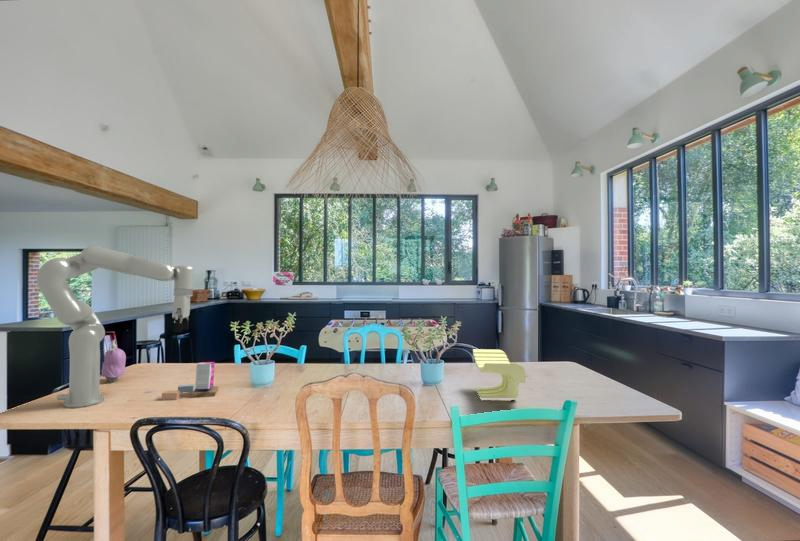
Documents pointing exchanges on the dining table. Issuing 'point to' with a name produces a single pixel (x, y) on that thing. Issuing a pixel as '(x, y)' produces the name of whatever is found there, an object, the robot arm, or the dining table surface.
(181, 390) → the slate brick
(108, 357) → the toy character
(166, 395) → the terracotta brick
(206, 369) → the supplement box
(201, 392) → the tan flat square block
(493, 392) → the slatted curved stool
